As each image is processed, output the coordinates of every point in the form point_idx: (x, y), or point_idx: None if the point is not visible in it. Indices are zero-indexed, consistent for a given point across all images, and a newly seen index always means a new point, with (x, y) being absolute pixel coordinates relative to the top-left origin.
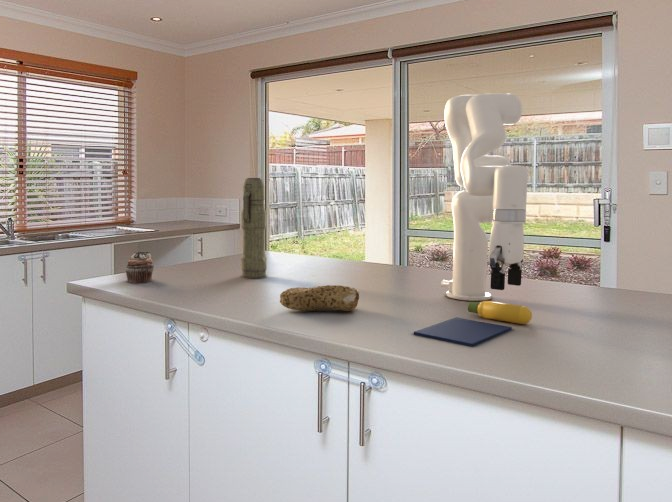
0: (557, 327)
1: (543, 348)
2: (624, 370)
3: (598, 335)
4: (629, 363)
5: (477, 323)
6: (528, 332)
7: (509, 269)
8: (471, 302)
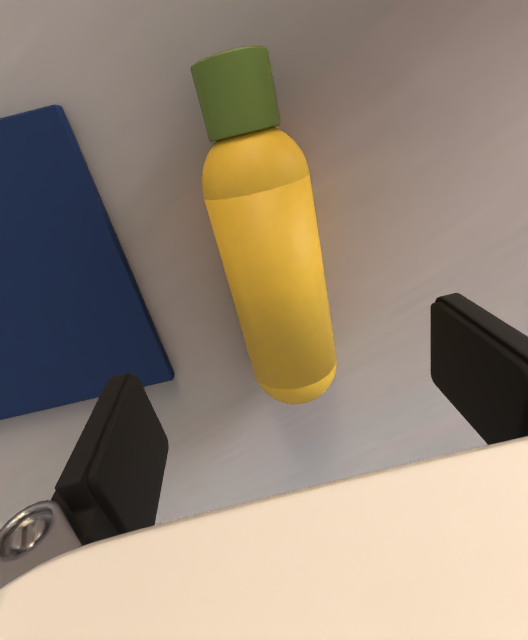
0: (347, 420)
1: None
2: None
3: None
4: None
5: (75, 274)
6: (197, 418)
7: (525, 386)
8: (218, 74)
